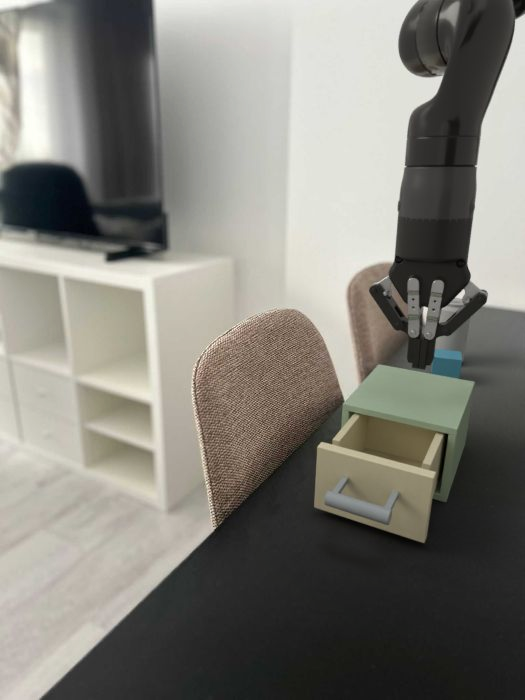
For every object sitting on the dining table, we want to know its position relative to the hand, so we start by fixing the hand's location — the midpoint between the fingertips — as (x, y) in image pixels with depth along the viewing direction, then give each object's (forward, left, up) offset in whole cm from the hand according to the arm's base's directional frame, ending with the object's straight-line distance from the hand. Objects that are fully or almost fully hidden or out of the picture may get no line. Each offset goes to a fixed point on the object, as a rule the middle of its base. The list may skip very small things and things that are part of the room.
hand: (419, 366), depth 59 cm
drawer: (+7, +7, -12) cm, 16 cm away
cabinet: (0, -2, -13) cm, 13 cm away
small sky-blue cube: (-19, -25, -13) cm, 34 cm away
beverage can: (-24, -33, -13) cm, 43 cm away
